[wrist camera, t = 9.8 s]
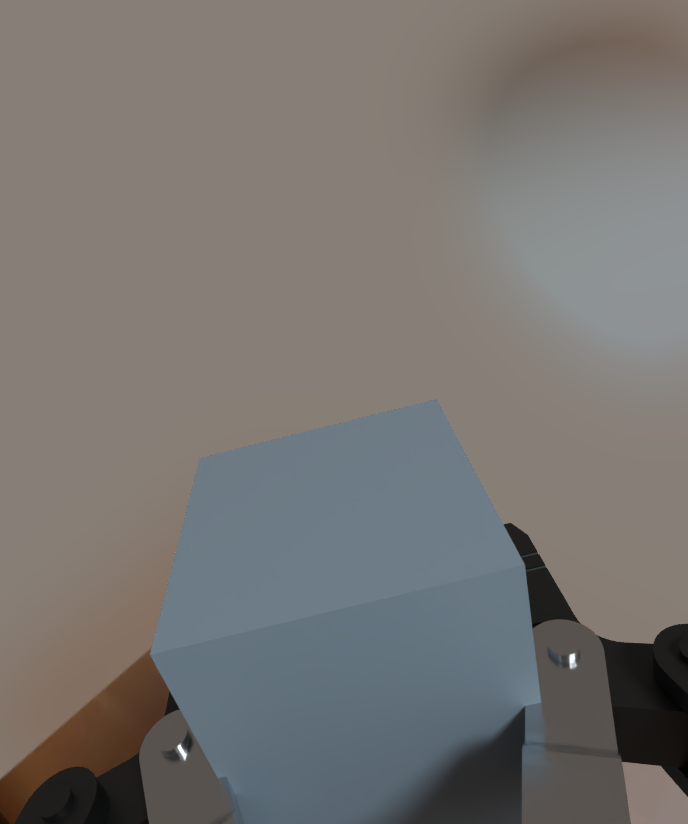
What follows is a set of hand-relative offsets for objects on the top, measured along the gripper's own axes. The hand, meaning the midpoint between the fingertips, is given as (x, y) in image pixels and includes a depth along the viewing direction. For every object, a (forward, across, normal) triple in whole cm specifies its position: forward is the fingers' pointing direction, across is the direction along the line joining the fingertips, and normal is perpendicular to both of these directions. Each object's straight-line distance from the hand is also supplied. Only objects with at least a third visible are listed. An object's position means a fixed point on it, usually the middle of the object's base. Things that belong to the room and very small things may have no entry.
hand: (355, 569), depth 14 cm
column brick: (-3, 0, +6) cm, 7 cm away
